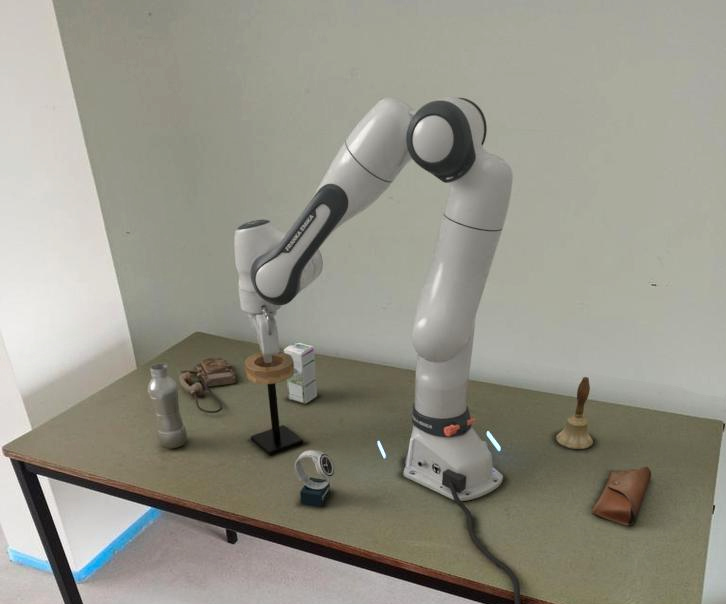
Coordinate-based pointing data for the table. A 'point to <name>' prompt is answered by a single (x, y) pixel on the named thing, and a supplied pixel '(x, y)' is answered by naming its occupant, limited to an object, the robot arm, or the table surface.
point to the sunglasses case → (623, 496)
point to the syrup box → (302, 373)
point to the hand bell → (577, 422)
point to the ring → (269, 368)
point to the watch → (314, 487)
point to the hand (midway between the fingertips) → (266, 358)
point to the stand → (276, 430)
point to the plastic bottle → (166, 407)
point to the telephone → (208, 378)
